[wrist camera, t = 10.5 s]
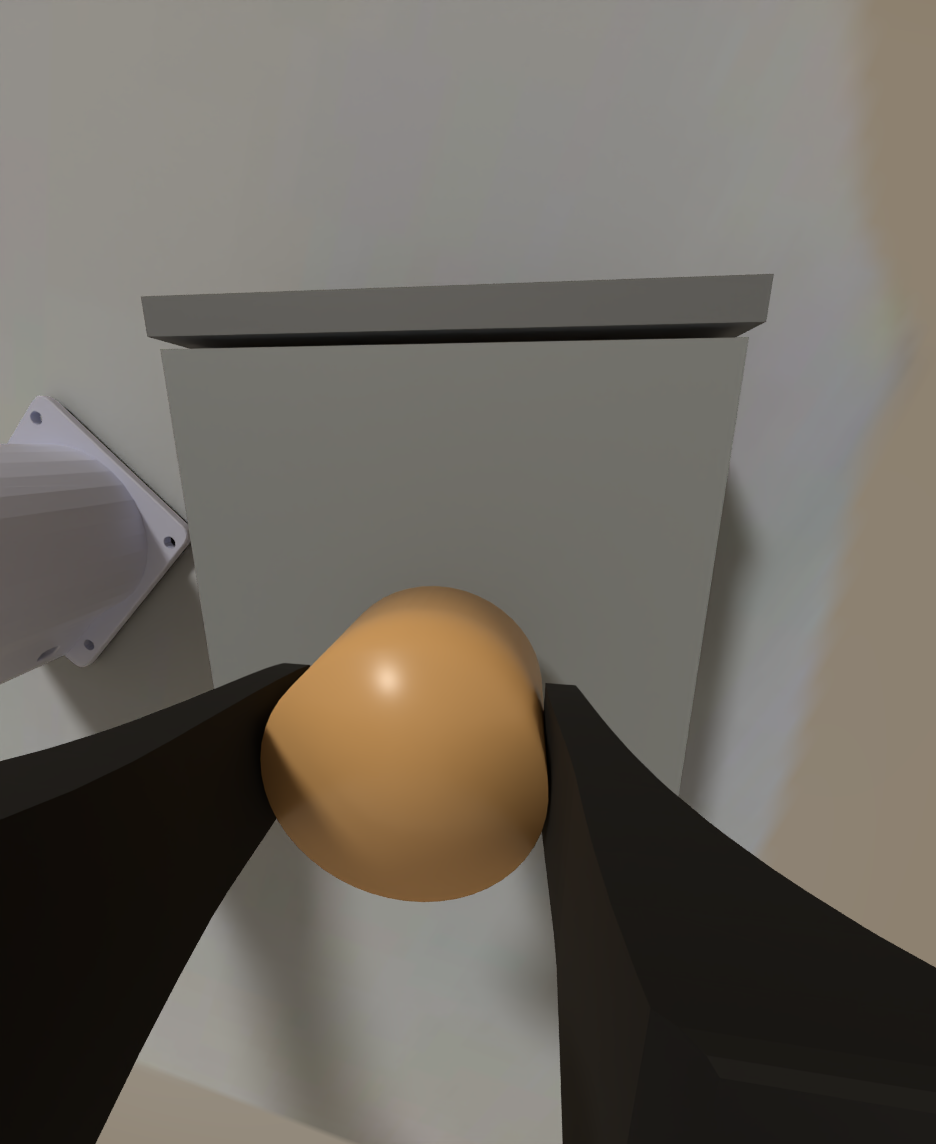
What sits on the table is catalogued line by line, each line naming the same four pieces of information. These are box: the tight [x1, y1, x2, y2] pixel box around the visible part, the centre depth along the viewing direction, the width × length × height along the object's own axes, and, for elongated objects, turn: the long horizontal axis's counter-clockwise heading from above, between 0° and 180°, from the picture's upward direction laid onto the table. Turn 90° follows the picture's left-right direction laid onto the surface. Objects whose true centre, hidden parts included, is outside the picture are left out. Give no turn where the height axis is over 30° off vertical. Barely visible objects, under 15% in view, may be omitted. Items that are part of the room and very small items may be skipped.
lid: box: [141, 274, 774, 797], centre depth 14 cm, size 13×15×3 cm
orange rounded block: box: [260, 586, 548, 902], centre depth 10 cm, size 5×5×4 cm
